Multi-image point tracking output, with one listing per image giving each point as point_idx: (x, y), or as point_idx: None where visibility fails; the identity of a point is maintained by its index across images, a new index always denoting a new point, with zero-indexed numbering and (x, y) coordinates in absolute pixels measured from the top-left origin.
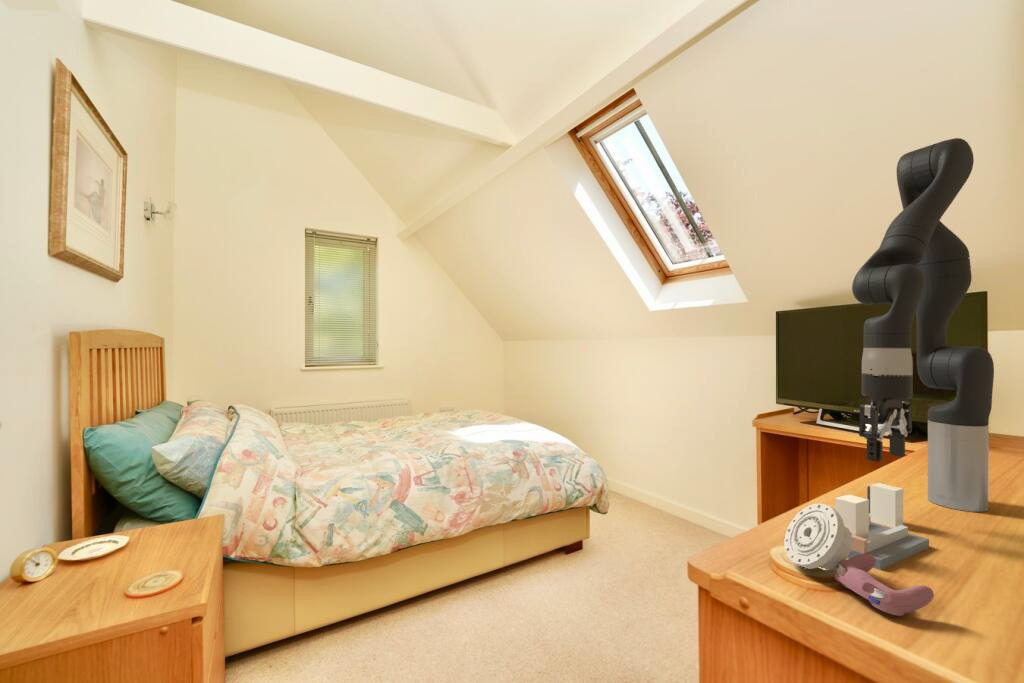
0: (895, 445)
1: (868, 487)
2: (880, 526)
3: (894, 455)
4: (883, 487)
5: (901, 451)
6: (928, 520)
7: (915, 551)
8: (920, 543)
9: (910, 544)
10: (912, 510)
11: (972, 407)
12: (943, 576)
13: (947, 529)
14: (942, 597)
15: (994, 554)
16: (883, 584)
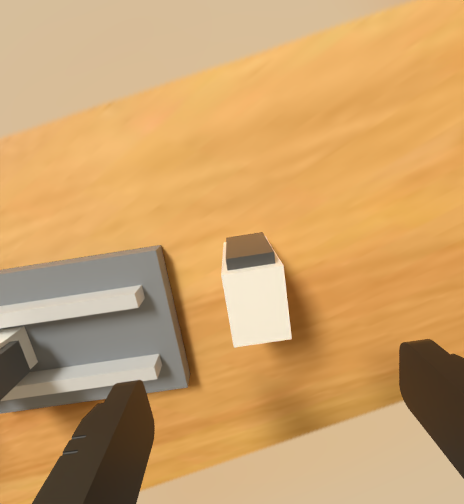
0: (450, 415)
1: (226, 262)
2: (155, 314)
3: (400, 359)
4: (239, 308)
5: (420, 416)
6: (375, 283)
7: None
8: (148, 392)
9: None
10: (428, 223)
11: None
12: None
13: (346, 330)
14: (19, 470)
15: (277, 421)
16: None
